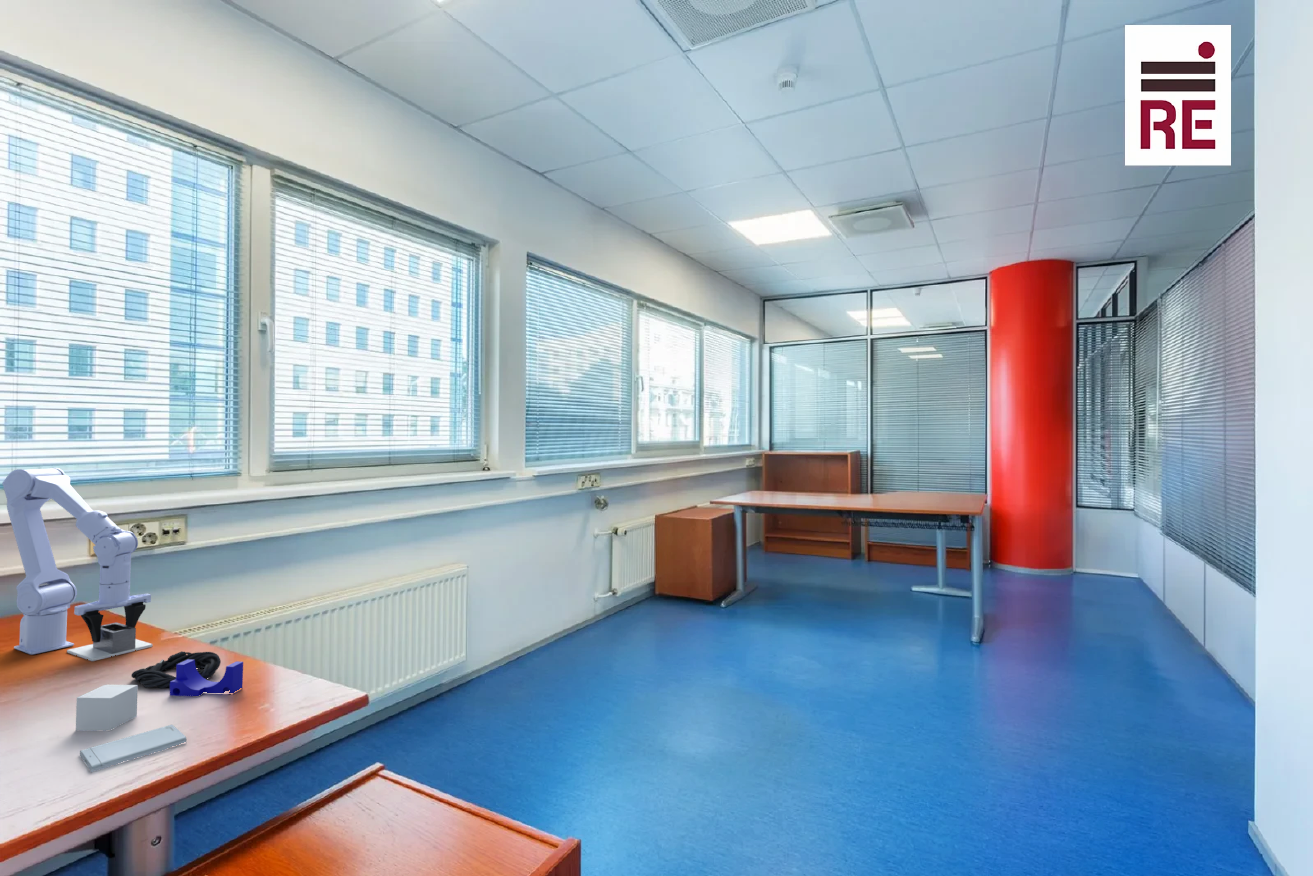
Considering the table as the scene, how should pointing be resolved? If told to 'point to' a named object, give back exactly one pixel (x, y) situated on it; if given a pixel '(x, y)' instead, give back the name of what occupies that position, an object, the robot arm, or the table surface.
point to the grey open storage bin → (116, 638)
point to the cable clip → (204, 680)
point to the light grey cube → (106, 707)
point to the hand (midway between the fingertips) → (113, 637)
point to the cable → (161, 680)
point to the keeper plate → (97, 654)
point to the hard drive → (131, 747)
